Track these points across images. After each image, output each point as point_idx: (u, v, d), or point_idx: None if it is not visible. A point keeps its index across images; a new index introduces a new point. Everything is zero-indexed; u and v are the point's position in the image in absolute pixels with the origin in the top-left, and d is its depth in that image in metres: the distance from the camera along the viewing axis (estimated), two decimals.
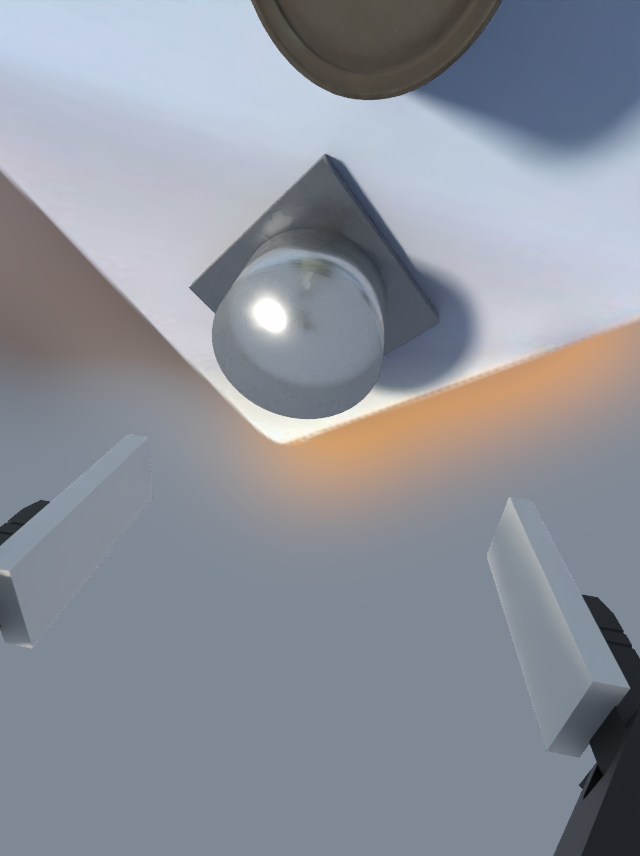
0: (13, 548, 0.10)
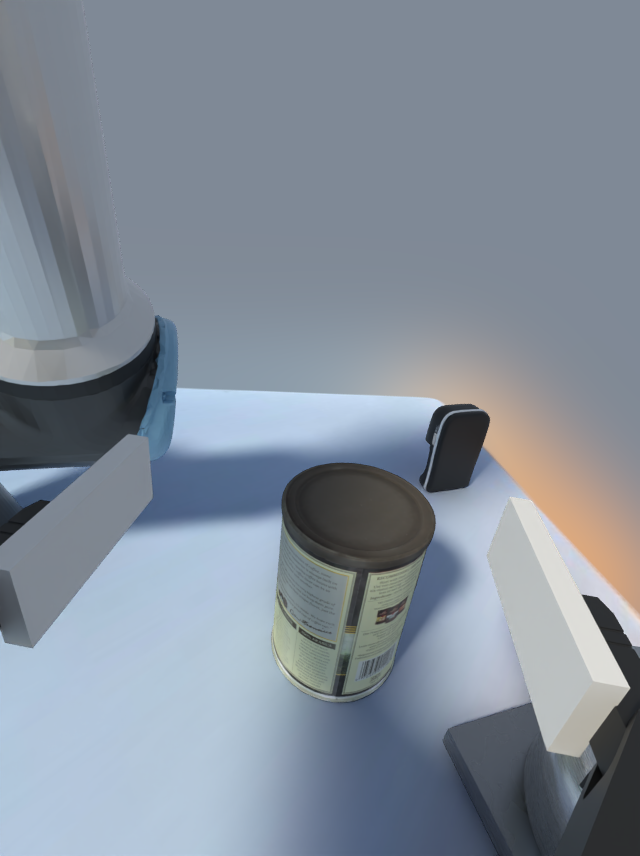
0: (13, 548, 0.10)
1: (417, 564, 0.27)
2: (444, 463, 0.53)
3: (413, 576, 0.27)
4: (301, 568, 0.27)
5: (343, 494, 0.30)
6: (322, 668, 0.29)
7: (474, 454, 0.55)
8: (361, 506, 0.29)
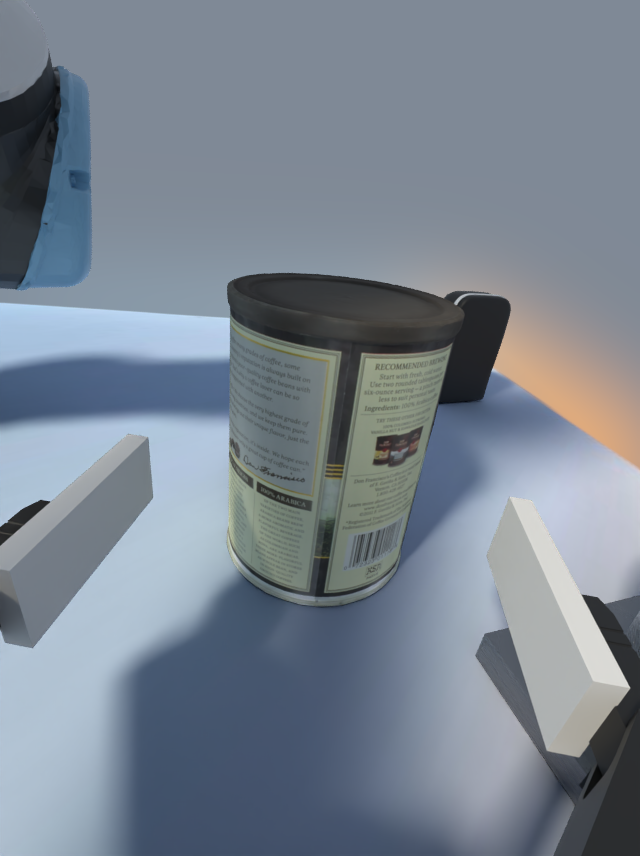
0: (13, 548, 0.10)
1: (438, 364, 0.17)
2: (455, 363, 0.44)
3: (431, 388, 0.17)
4: (255, 369, 0.17)
5: (323, 290, 0.20)
6: (292, 548, 0.19)
7: (491, 355, 0.45)
8: (351, 297, 0.19)
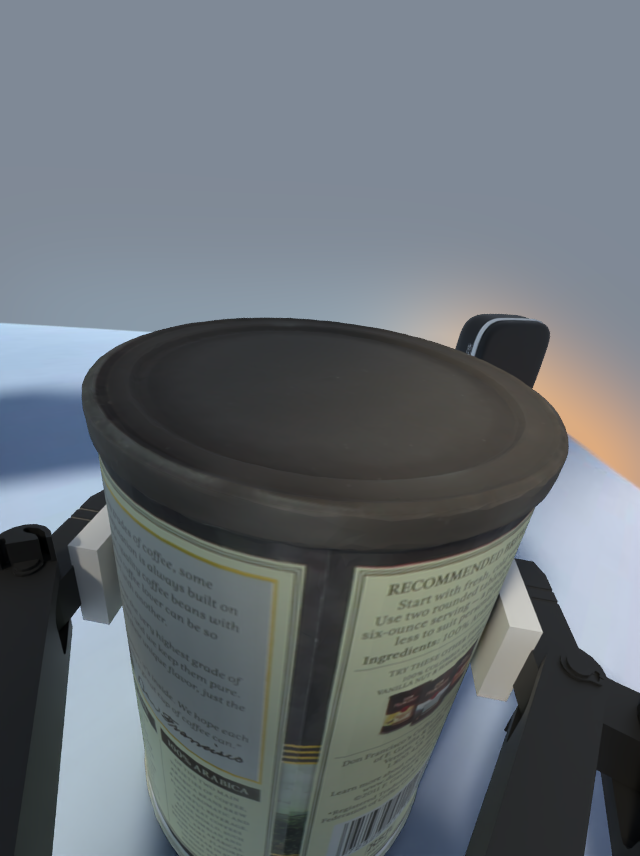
0: (95, 531, 0.11)
1: (519, 540, 0.08)
2: None
3: (501, 580, 0.09)
4: (130, 555, 0.08)
5: (289, 359, 0.11)
6: (231, 838, 0.11)
7: None
8: (339, 379, 0.10)
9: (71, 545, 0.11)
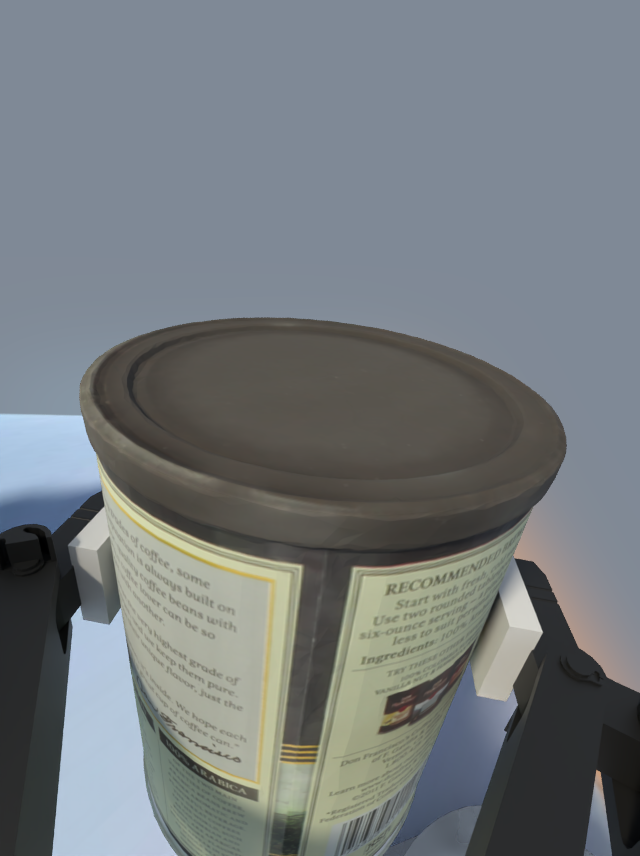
0: (95, 530, 0.11)
1: (517, 540, 0.08)
2: None
3: (499, 580, 0.09)
4: (128, 555, 0.08)
5: (288, 359, 0.11)
6: (230, 838, 0.11)
7: None
8: (337, 379, 0.10)
9: (71, 545, 0.11)
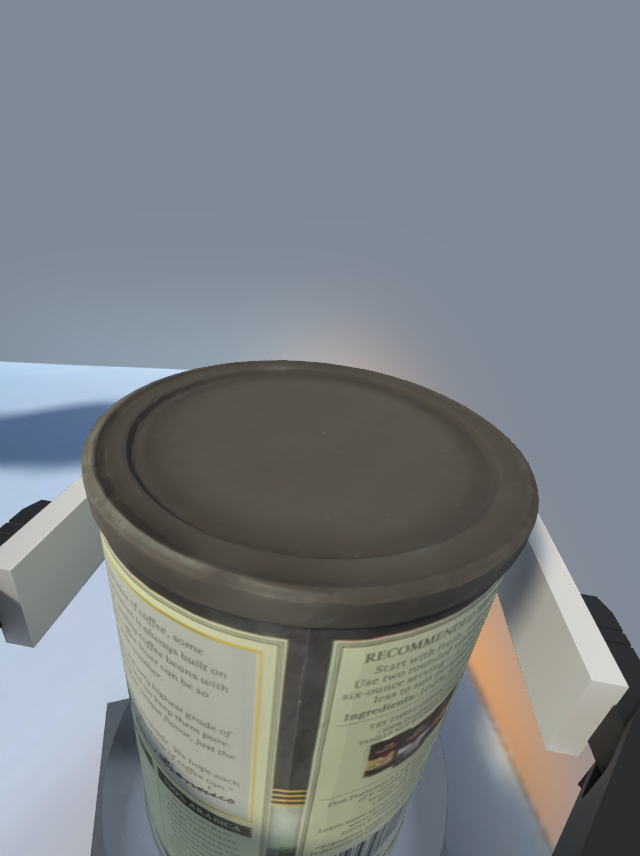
0: (14, 548, 0.10)
1: (491, 598, 0.09)
2: None
3: (477, 633, 0.09)
4: (127, 615, 0.08)
5: (279, 412, 0.11)
6: None
7: None
8: (326, 434, 0.11)
9: None
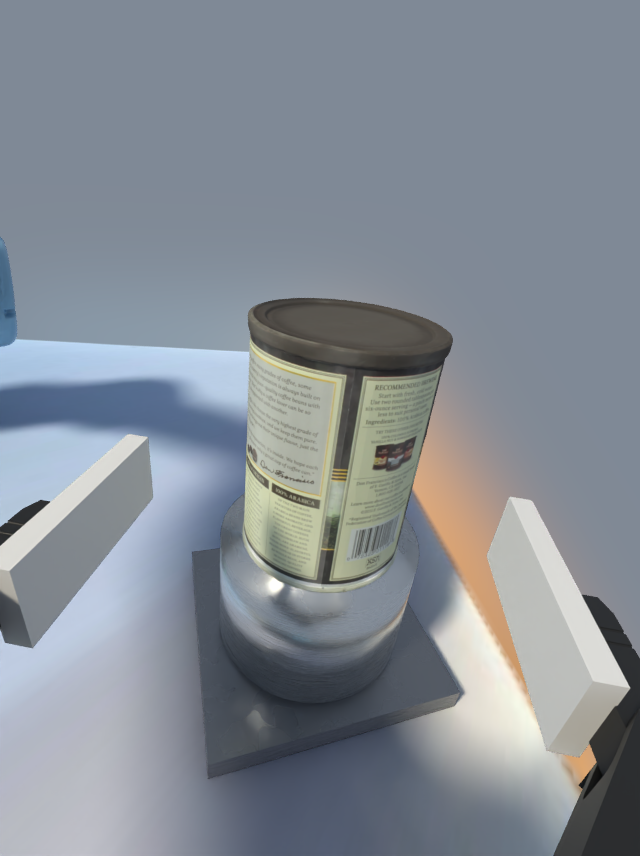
0: (13, 548, 0.10)
1: (429, 384, 0.20)
2: None
3: (423, 404, 0.20)
4: (272, 388, 0.20)
5: (330, 316, 0.23)
6: (302, 541, 0.22)
7: None
8: (355, 323, 0.22)
9: None
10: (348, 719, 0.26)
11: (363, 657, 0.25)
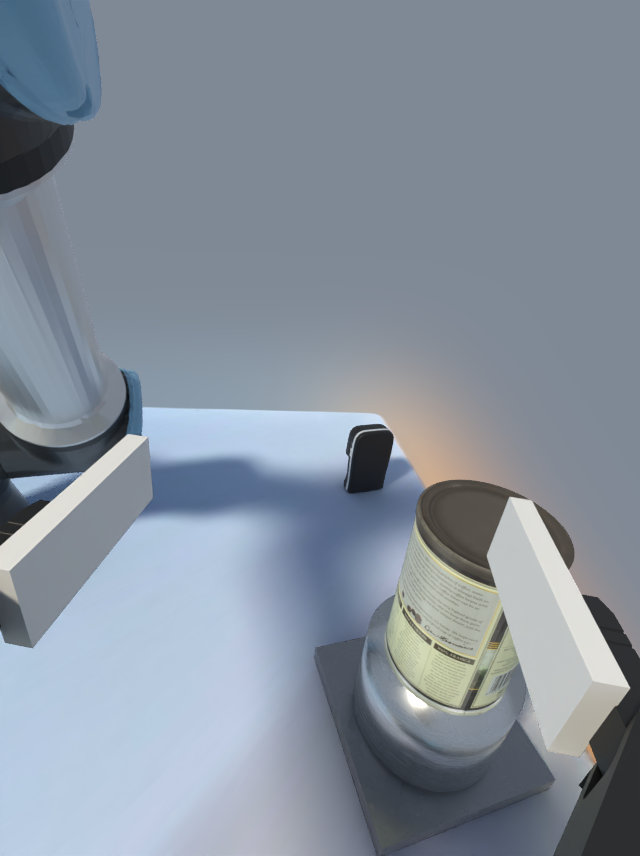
0: (13, 548, 0.10)
1: None
2: (359, 470, 0.69)
3: None
4: (447, 586, 0.27)
5: (473, 512, 0.30)
6: (455, 683, 0.30)
7: (384, 463, 0.70)
8: (495, 523, 0.29)
9: None
10: (475, 807, 0.33)
11: (488, 759, 0.33)
